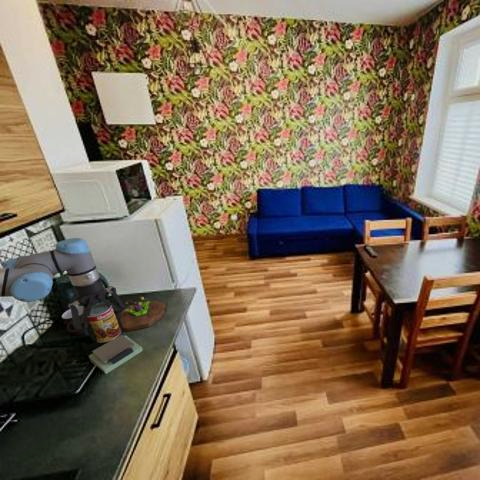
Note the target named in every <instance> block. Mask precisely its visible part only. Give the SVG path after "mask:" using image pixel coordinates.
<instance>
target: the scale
mask: <svg viewBox="0 0 480 480" xmlns="http://www.w3.org/2000/svg"><path fill="white" fill-rule="evenodd" d="M123 336H124V337H125V338H127V339H128V340H129V341H131V342H132V343H133V344H134V345H135V346H133V347H131V348H129V349H127V350H126V351H124V352H122V353H121V354H119V355H117V356H116V357H114V358H112V359H111V360H110V361H108V362H107V363H105V364H104V363H103V362H102V361H101V360H100V359H99V358H98V357H97V356H96V355H94V354H93V353H91V354H89V355H88V358H89V360H90V362H91V363H92V364H93V365H94V366H96V367H98V369H100V370H101V371H102V372H103V373H104V374H105V375H107V374H108V373H111V371H113V370H115V369H116V368H118V367H119V366H121V365H123V364H124V363H126V362H127V361H129V360H130V359H133V358H134V357H135V356H137V355H138V354H140V353H141V352H143V351H144V350H143V347H142V346H141V345H139V344H138V342H135V341H134V340H132V339H131V338H130V337H129V336H127V335H123Z"/></svg>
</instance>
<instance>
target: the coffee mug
mask: <svg viewBox="0 0 480 480" xmlns="http://www.w3.org/2000/svg"><path fill="white" fill-rule="evenodd" d="M78 306H79V307H78V308H77V309H78V312H79V318H80V324H81V321H82V315H83V305H78ZM61 318H62V320H63V321H64V323H65V324H66V331H67V332H69V333H72V334H73V335H74V336H81V335H85V333H84V330H83V329H80V330H77V329H75V328H74V325H73V319H72V313H71V309H70V308H69V309H68V310H65V312H63V314H62V315H61Z"/></svg>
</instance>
